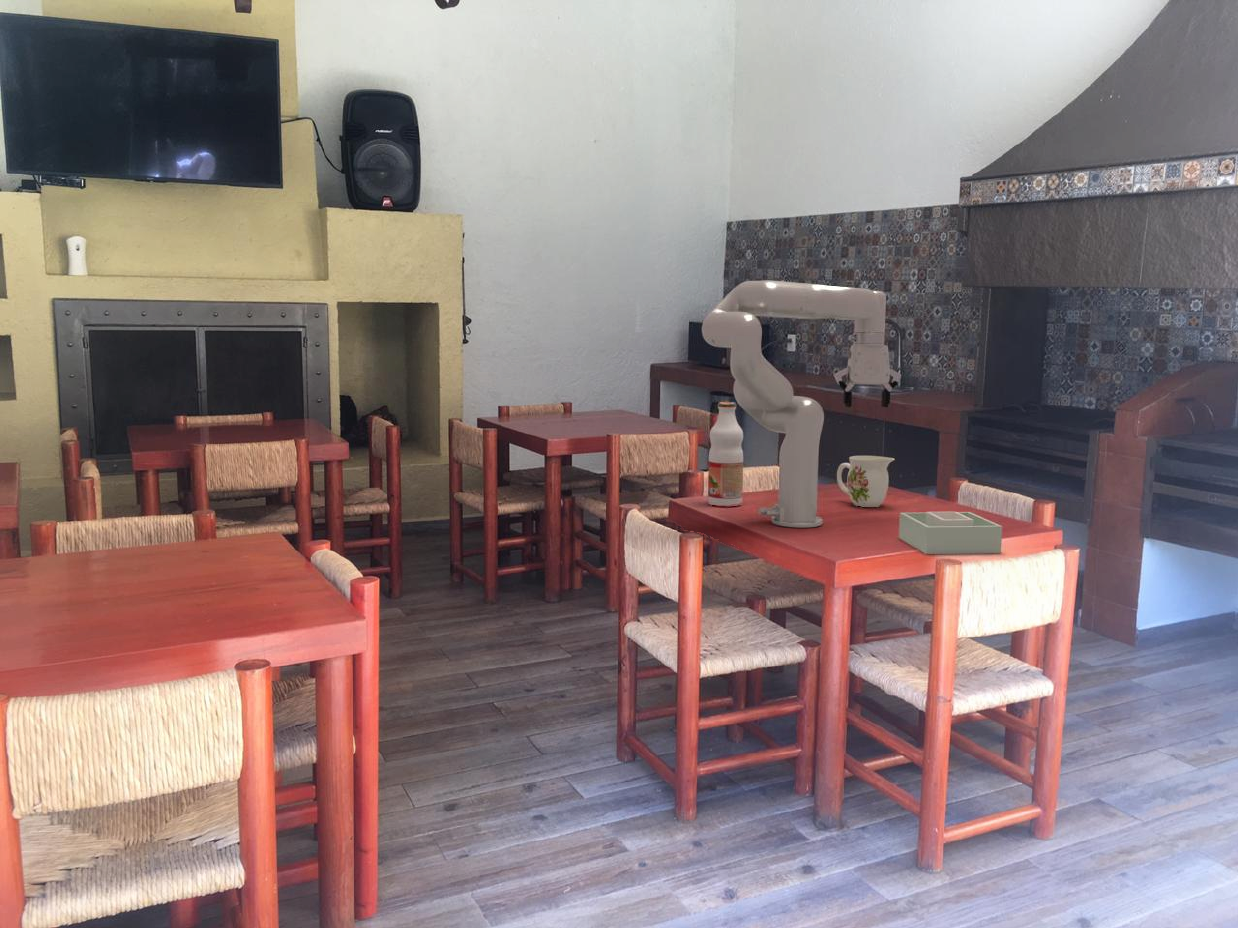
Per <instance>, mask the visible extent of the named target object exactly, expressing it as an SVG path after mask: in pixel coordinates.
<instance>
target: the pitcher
mask: <svg viewBox="0 0 1238 928" xmlns="http://www.w3.org/2000/svg"><path fill="white" fill-rule="evenodd" d="M848 459H849V462H843V463H841V464H840V465H839V466H838V469H837V471H836V481H837V485H838V487H839V488H840V490H842V491H843V493H844V494H846V495H848V496H849V498H850V501H851V502H852V503H853V505H854V506H855V505H857V506H861V507H860V508H862V507H877V508H879V507H880V505H882V504H883V502H884V500H885V498H886V496H887V493H888V488H889V482H890V481H889V472H888V467H889V465H890V463H891V462H893V461H895V458H893V457H886V456H880V455H879V456H877V455H853V456H849V458H848ZM845 468H847V469H849V471H848V473H847V477H846V478H847V480H846V485H845V484H844V483H843V480H842V473H843V471H844V469H845ZM846 486H847V487H846ZM857 506H856V507H857Z"/></svg>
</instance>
